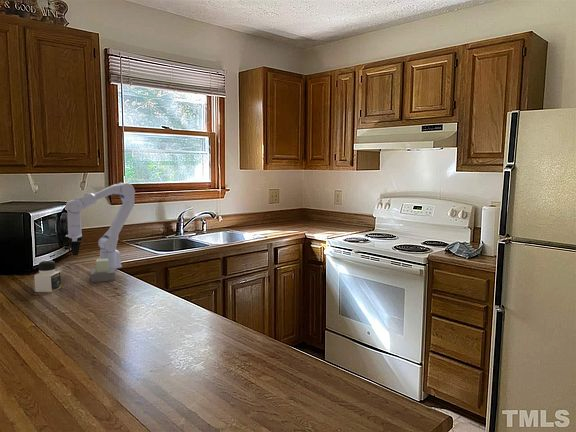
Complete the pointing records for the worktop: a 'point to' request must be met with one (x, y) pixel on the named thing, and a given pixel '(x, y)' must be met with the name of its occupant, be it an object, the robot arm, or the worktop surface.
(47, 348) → the worktop surface
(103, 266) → the sage block
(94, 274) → the charcoal plinth
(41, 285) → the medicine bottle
